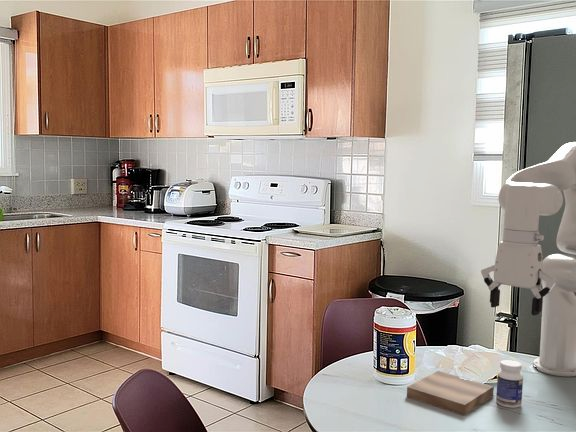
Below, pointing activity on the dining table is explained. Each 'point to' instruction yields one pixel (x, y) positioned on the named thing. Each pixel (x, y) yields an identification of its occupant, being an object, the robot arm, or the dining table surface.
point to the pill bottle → (509, 384)
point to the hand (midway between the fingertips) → (514, 310)
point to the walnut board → (450, 392)
